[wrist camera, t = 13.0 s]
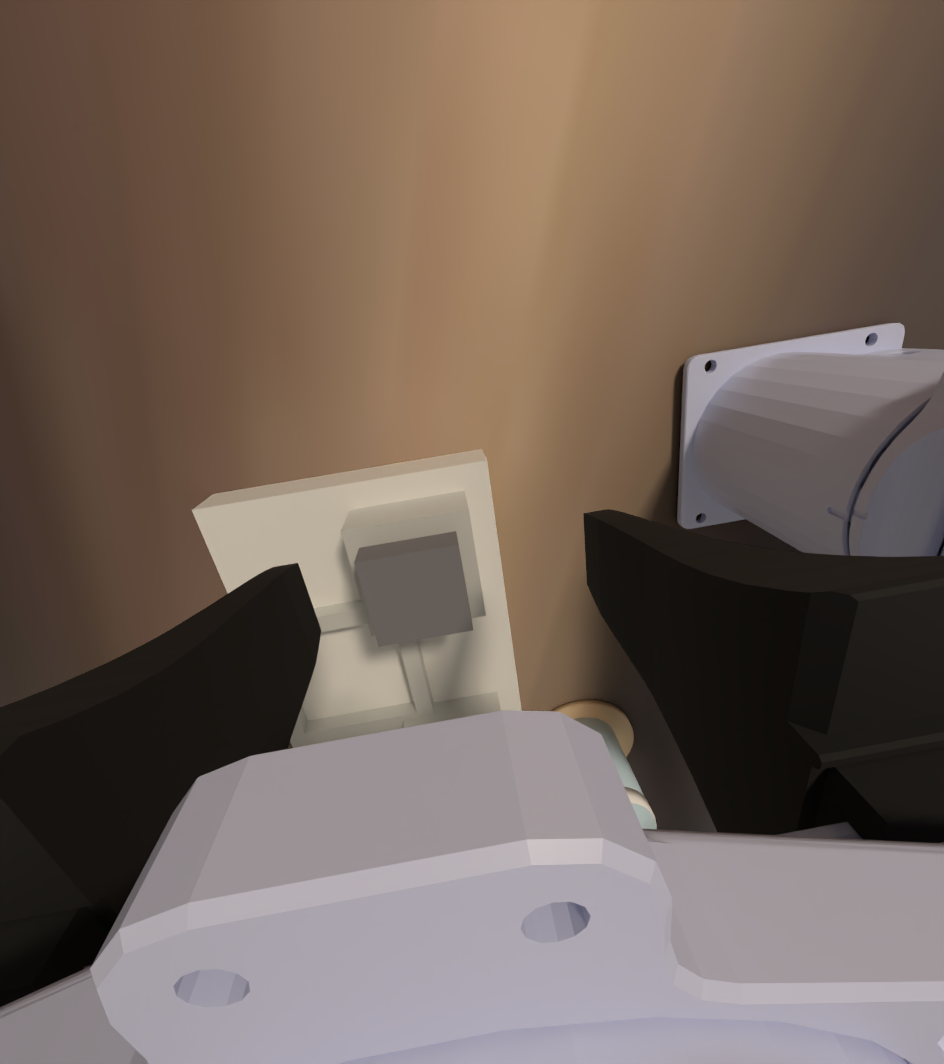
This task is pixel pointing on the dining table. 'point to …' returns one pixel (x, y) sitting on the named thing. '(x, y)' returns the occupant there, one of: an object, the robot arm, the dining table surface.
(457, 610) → the plunger
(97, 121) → the dining table surface
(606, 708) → the coaster
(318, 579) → the housing
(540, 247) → the dining table surface
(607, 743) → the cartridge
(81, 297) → the dining table surface
